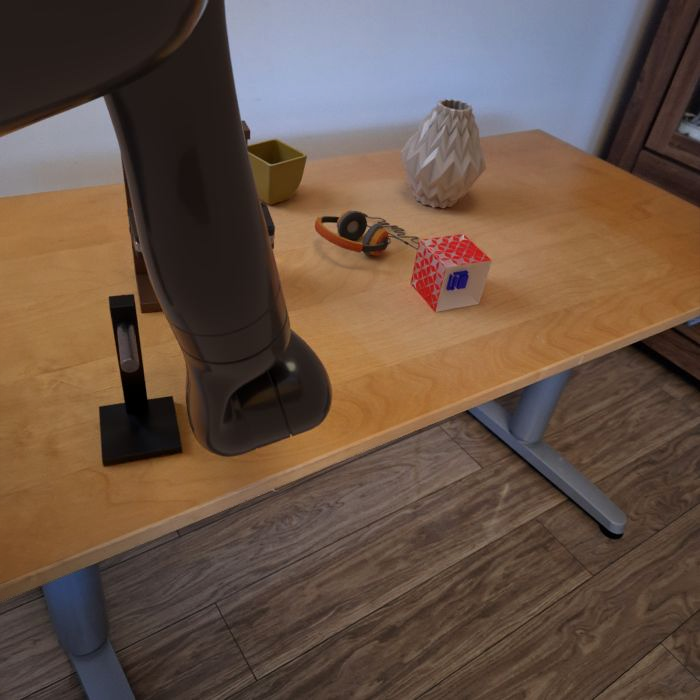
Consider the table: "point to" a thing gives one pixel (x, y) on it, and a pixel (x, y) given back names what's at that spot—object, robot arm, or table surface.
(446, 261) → the red patterned cube
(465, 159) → the vase
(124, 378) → the holder
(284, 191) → the flower pot
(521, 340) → the table surface
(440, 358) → the table surface
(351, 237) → the headphones
